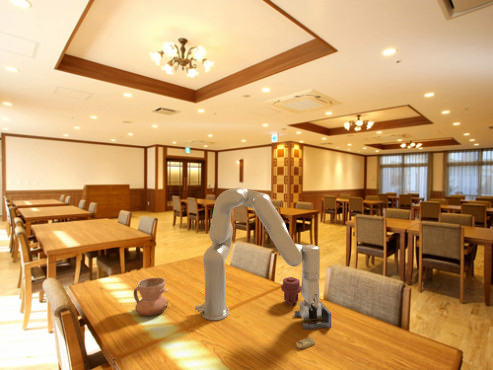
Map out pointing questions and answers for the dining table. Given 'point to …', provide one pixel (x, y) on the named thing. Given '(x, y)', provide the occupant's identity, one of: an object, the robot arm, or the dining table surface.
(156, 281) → the ceramic jug
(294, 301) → the mechanical component
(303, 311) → the aluminium block
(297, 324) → the dining table surface
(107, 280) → the dining table surface
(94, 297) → the dining table surface
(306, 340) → the brass key tag
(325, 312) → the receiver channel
